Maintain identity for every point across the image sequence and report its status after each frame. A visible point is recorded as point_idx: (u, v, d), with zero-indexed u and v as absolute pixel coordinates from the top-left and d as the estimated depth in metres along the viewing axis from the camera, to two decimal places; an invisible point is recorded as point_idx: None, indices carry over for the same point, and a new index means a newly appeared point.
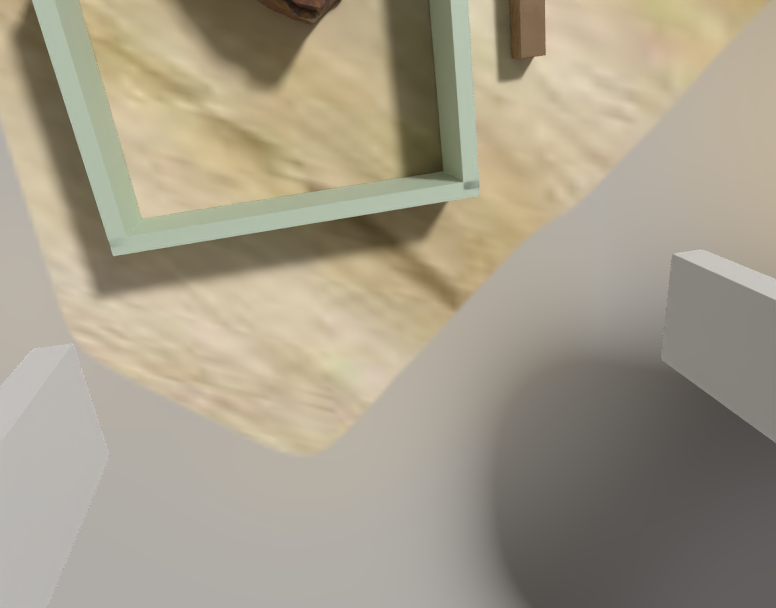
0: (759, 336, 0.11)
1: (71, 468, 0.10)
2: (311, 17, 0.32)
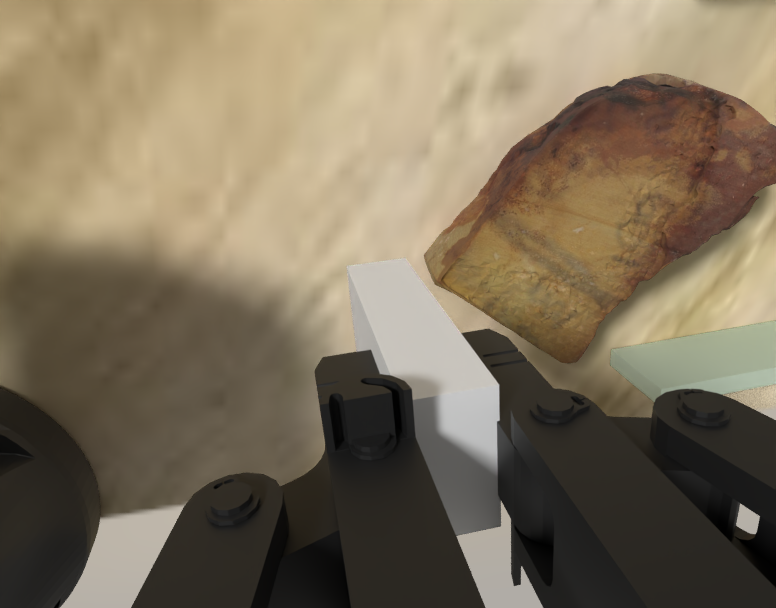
0: None
1: None
2: None
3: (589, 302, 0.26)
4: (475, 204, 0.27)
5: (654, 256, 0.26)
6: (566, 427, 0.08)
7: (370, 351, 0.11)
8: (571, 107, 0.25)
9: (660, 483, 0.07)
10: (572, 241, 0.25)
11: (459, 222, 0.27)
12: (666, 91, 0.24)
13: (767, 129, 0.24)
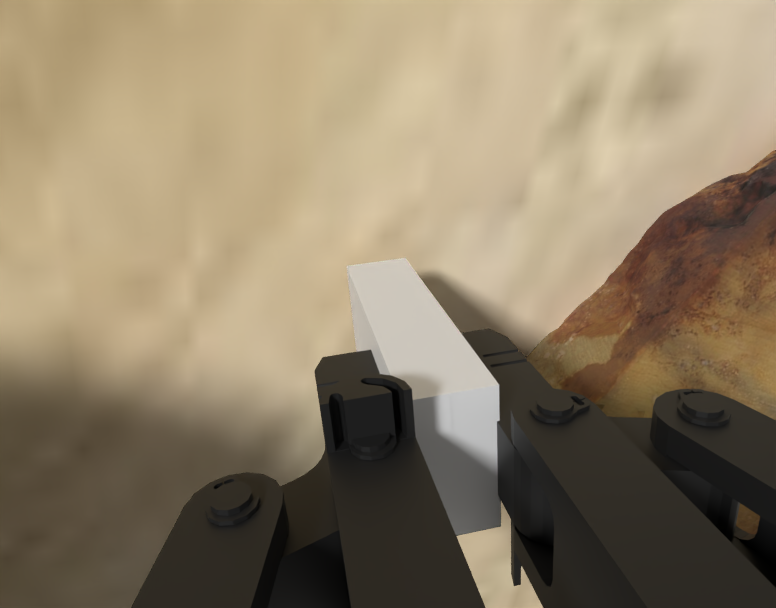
0: None
1: None
2: None
3: None
4: (604, 299, 0.17)
5: None
6: (566, 427, 0.08)
7: (370, 351, 0.11)
8: None
9: (660, 483, 0.07)
10: None
11: (577, 326, 0.18)
12: None
13: None
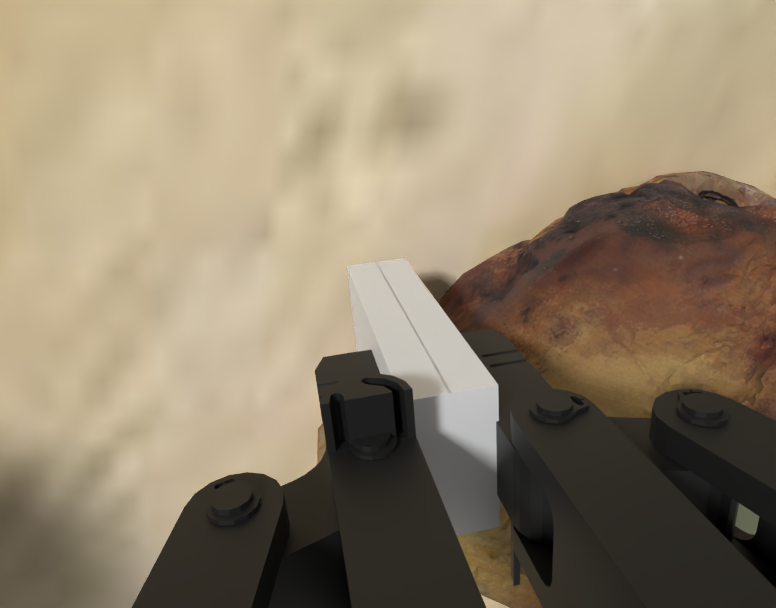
0: None
1: None
2: None
3: None
4: None
5: None
6: (566, 427, 0.08)
7: (370, 351, 0.11)
8: (559, 231, 0.15)
9: (660, 483, 0.07)
10: None
11: None
12: (723, 218, 0.14)
13: None
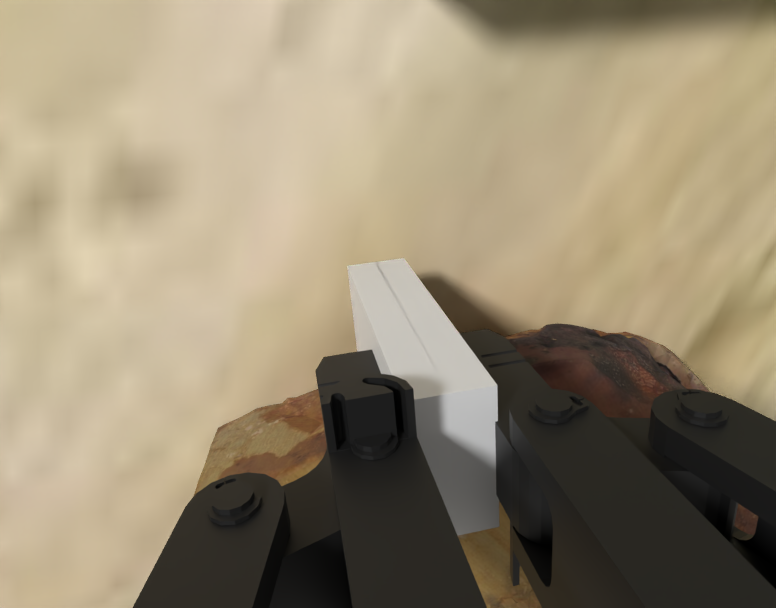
0: None
1: None
2: None
3: None
4: None
5: None
6: (565, 427, 0.08)
7: (371, 351, 0.11)
8: (535, 341, 0.15)
9: (659, 483, 0.07)
10: None
11: (293, 412, 0.16)
12: None
13: None
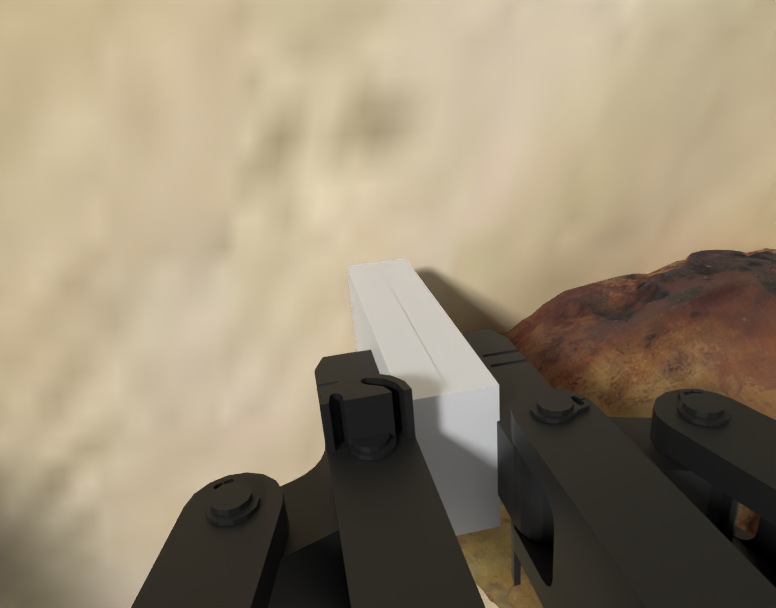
0: None
1: None
2: None
3: None
4: None
5: None
6: (566, 427, 0.08)
7: (370, 351, 0.11)
8: (689, 271, 0.15)
9: (660, 483, 0.07)
10: None
11: None
12: None
13: None
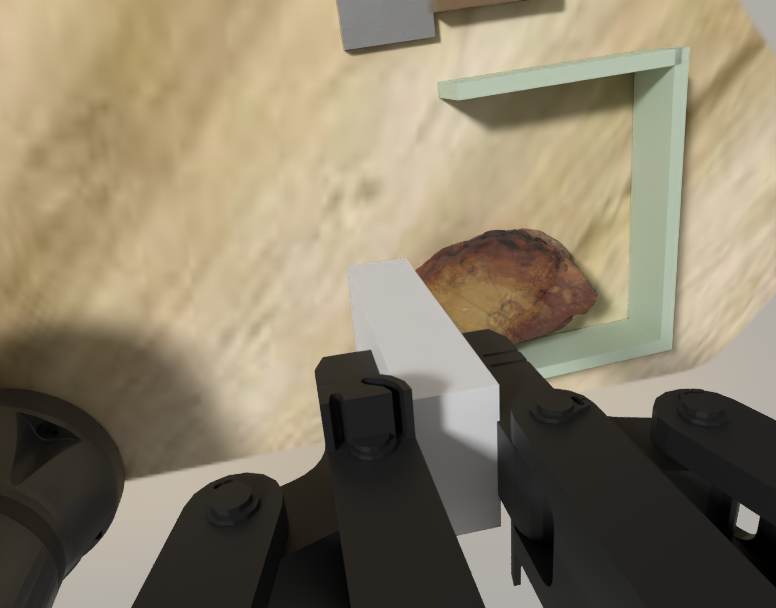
0: None
1: None
2: None
3: None
4: None
5: None
6: (566, 427, 0.08)
7: (370, 351, 0.11)
8: (479, 238, 0.42)
9: (660, 483, 0.07)
10: (459, 315, 0.42)
11: None
12: (533, 245, 0.41)
13: (583, 282, 0.42)
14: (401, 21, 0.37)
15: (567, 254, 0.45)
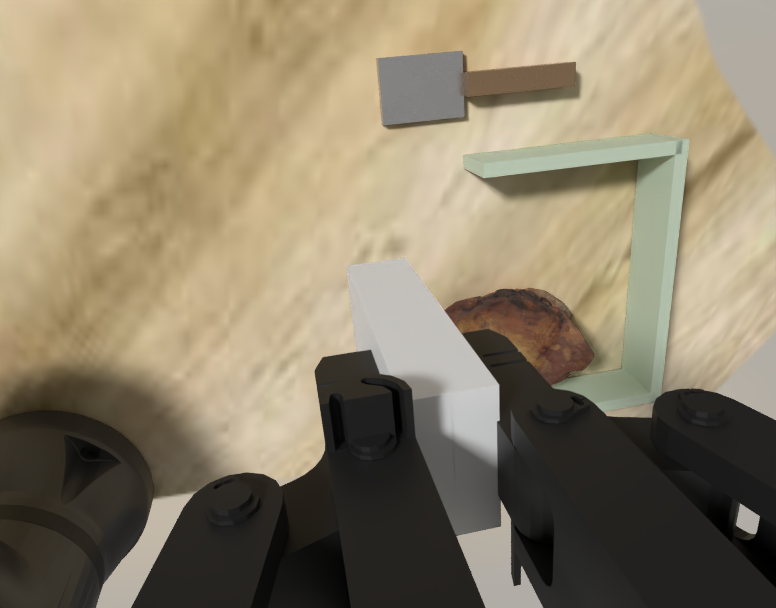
0: None
1: None
2: None
3: None
4: None
5: None
6: (566, 427, 0.08)
7: (370, 351, 0.11)
8: (491, 296, 0.46)
9: (660, 483, 0.07)
10: None
11: None
12: (539, 306, 0.46)
13: (582, 342, 0.46)
14: (434, 102, 0.41)
15: (568, 314, 0.49)
